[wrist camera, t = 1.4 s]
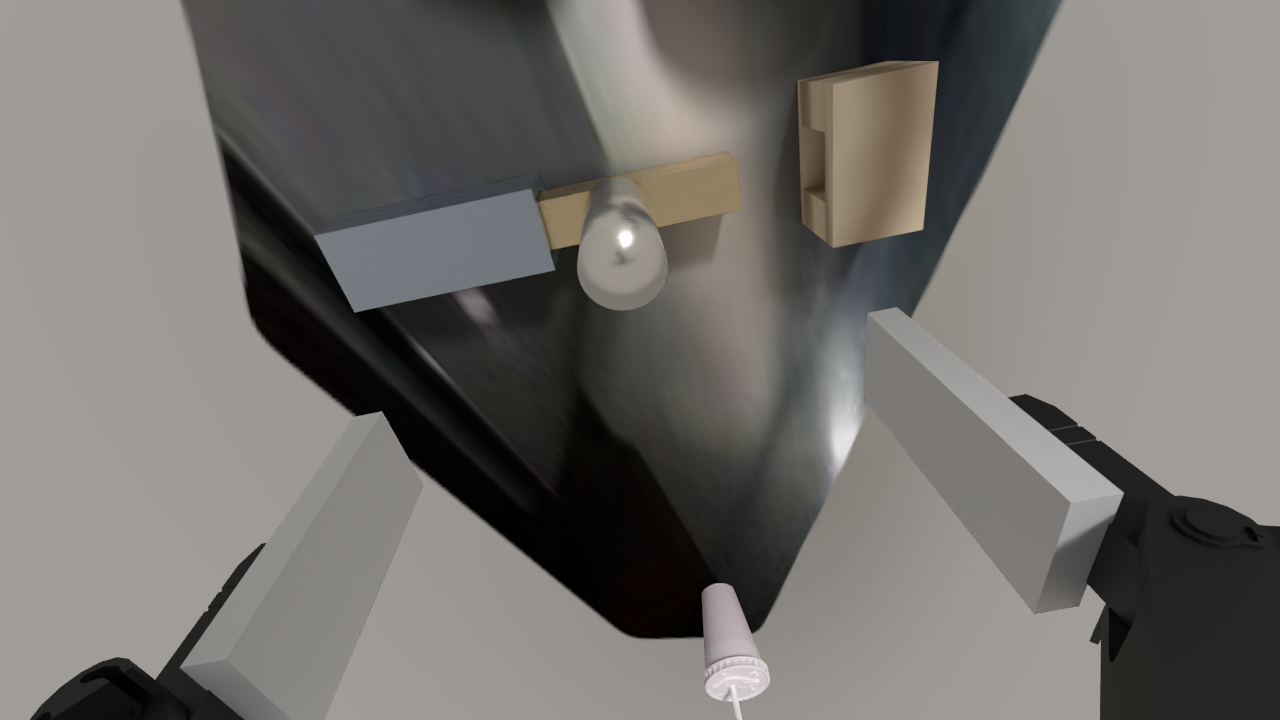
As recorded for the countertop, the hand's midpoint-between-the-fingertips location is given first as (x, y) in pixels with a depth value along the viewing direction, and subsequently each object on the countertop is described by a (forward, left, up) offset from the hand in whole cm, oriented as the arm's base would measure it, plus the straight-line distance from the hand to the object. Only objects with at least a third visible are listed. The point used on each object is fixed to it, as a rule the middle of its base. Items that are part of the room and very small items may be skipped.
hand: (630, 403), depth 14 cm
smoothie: (+24, +38, -24) cm, 51 cm away
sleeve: (+9, -6, -24) cm, 26 cm away
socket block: (-13, +9, -24) cm, 28 cm away
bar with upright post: (+3, -2, -23) cm, 23 cm away
